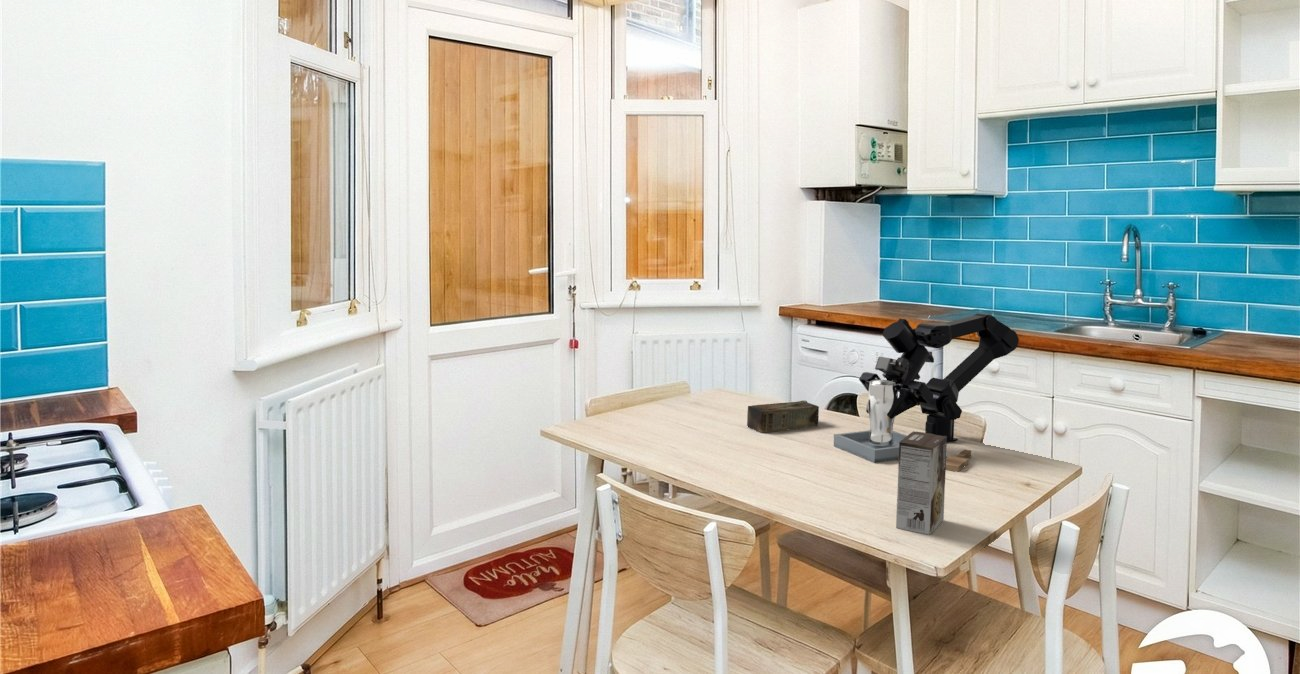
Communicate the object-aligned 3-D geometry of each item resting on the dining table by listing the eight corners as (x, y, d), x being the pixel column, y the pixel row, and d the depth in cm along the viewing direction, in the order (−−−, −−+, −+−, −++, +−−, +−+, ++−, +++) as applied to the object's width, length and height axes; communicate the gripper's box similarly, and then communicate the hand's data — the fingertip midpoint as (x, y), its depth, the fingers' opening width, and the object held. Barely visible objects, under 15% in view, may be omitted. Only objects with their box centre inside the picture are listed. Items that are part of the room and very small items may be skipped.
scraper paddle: (959, 455, 190) (959, 448, 189) (976, 457, 187) (976, 451, 187) (939, 468, 179) (940, 461, 178) (958, 471, 176) (958, 464, 176)
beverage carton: (820, 427, 218) (820, 403, 217) (761, 434, 210) (761, 410, 209) (802, 420, 225) (803, 398, 225) (745, 428, 217) (745, 404, 217)
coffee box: (909, 513, 150) (912, 430, 148) (944, 520, 146) (948, 435, 144) (894, 528, 143) (897, 440, 141) (930, 535, 139) (934, 446, 137)
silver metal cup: (890, 448, 189) (893, 386, 186) (862, 443, 192) (864, 383, 190) (899, 441, 194) (902, 381, 192) (871, 437, 198) (873, 378, 196)
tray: (885, 439, 204) (886, 428, 203) (929, 455, 189) (929, 443, 189) (833, 446, 198) (834, 434, 197) (874, 463, 183) (874, 450, 183)
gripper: (864, 340, 200) (833, 388, 195) (927, 349, 185) (894, 401, 180) (884, 367, 205) (854, 415, 201) (947, 378, 190) (916, 430, 185)
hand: (878, 414), depth 192 cm, fingers closed on silver metal cup, 6 cm apart
